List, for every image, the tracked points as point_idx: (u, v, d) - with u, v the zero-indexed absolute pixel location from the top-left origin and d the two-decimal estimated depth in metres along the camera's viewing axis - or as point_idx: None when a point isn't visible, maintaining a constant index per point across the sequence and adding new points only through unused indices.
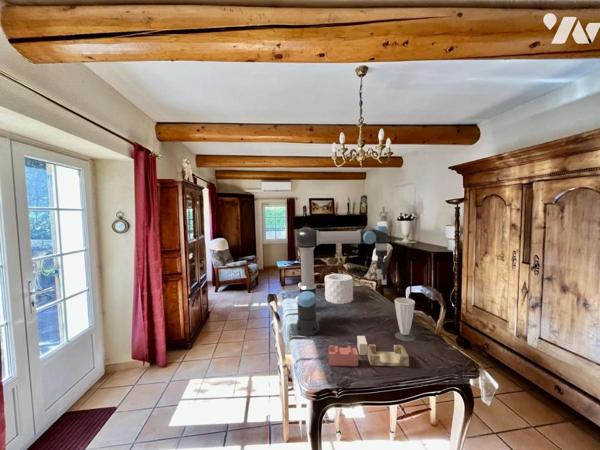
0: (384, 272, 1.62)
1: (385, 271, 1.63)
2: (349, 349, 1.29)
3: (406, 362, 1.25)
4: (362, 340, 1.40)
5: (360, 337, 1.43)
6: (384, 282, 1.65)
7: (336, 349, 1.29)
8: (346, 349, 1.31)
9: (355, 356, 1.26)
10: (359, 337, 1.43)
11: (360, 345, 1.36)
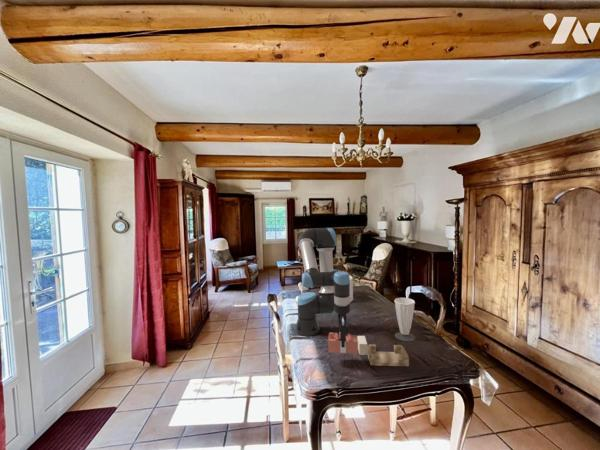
0: (342, 339, 1.23)
1: (343, 338, 1.23)
2: (349, 336, 1.29)
3: (406, 362, 1.25)
4: (362, 340, 1.40)
5: (360, 337, 1.43)
6: (343, 350, 1.27)
7: (336, 336, 1.29)
8: (346, 336, 1.31)
9: (355, 343, 1.26)
10: (359, 337, 1.43)
11: (360, 345, 1.36)
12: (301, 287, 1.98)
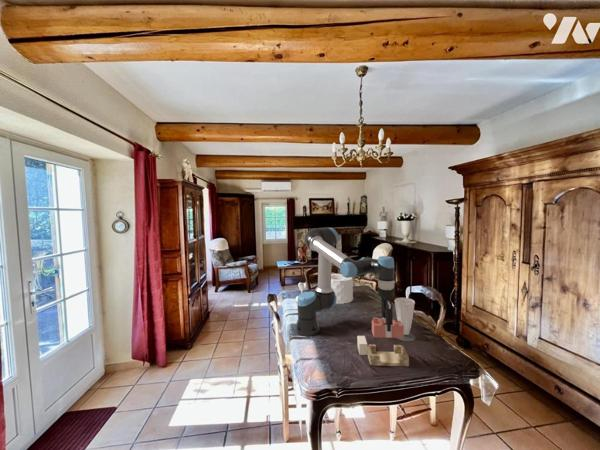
0: (389, 322, 1.23)
1: (390, 322, 1.23)
2: (394, 321, 1.29)
3: (406, 362, 1.25)
4: (362, 340, 1.40)
5: (360, 337, 1.43)
6: (389, 334, 1.26)
7: (380, 321, 1.29)
8: None
9: (401, 327, 1.26)
10: (359, 337, 1.43)
11: (360, 345, 1.36)
12: (301, 287, 1.98)
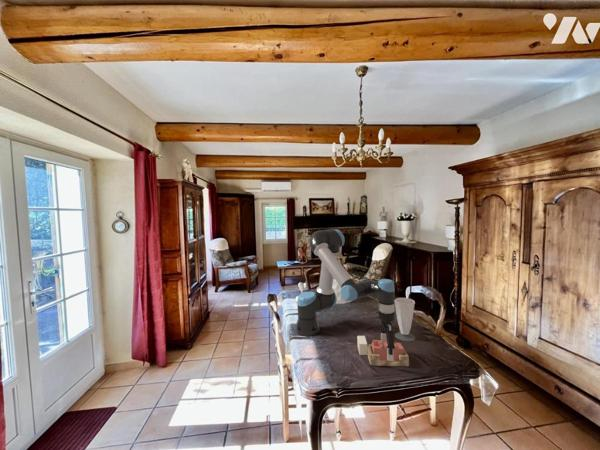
0: (391, 346, 1.21)
1: (392, 345, 1.21)
2: (394, 343, 1.30)
3: (406, 362, 1.25)
4: (362, 340, 1.40)
5: (360, 337, 1.43)
6: (391, 358, 1.23)
7: (380, 343, 1.30)
8: None
9: (401, 350, 1.27)
10: (359, 337, 1.43)
11: (360, 345, 1.36)
12: (301, 287, 1.98)
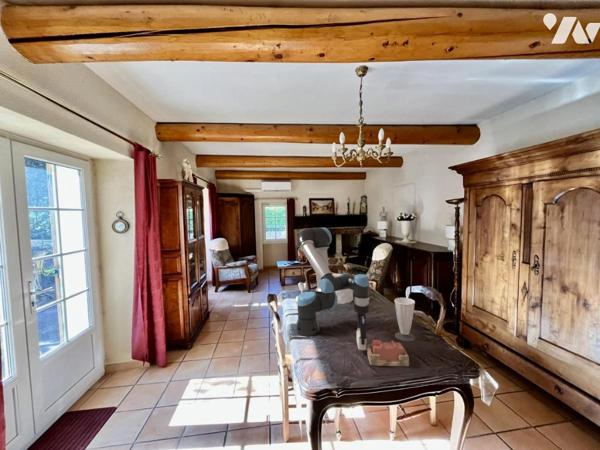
0: (362, 337, 1.32)
1: (364, 336, 1.32)
2: (394, 343, 1.30)
3: (406, 362, 1.25)
4: None
5: (359, 332, 1.43)
6: (363, 347, 1.36)
7: (380, 343, 1.30)
8: (390, 344, 1.32)
9: (401, 350, 1.27)
10: (358, 332, 1.43)
11: (359, 340, 1.36)
12: (301, 287, 1.98)
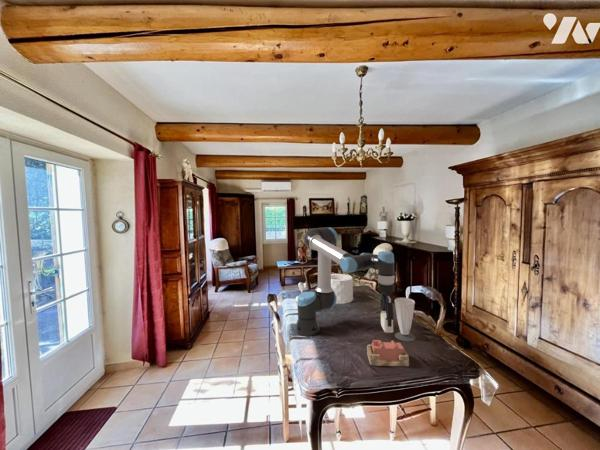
0: (389, 317, 1.22)
1: (391, 316, 1.22)
2: (394, 343, 1.30)
3: (406, 362, 1.25)
4: None
5: (384, 314, 1.32)
6: (389, 329, 1.25)
7: (380, 343, 1.30)
8: (390, 344, 1.32)
9: (401, 350, 1.27)
10: (383, 314, 1.32)
11: (385, 321, 1.25)
12: (301, 287, 1.98)
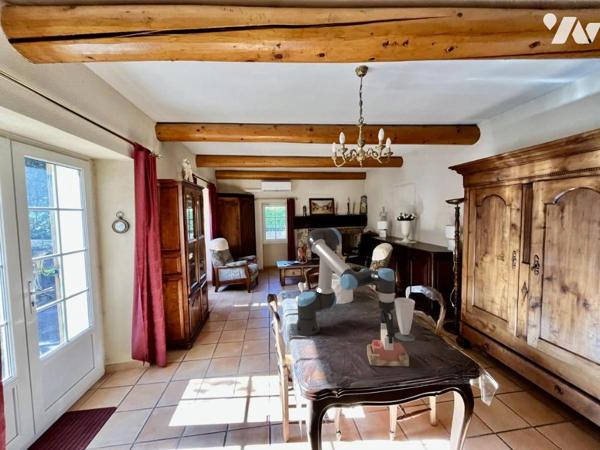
0: (390, 335, 1.20)
1: (392, 333, 1.20)
2: (394, 343, 1.30)
3: (406, 362, 1.25)
4: (386, 333, 1.30)
5: (384, 331, 1.33)
6: (390, 346, 1.23)
7: (380, 343, 1.30)
8: None
9: (401, 350, 1.27)
10: (383, 331, 1.33)
11: (385, 339, 1.26)
12: (301, 287, 1.98)
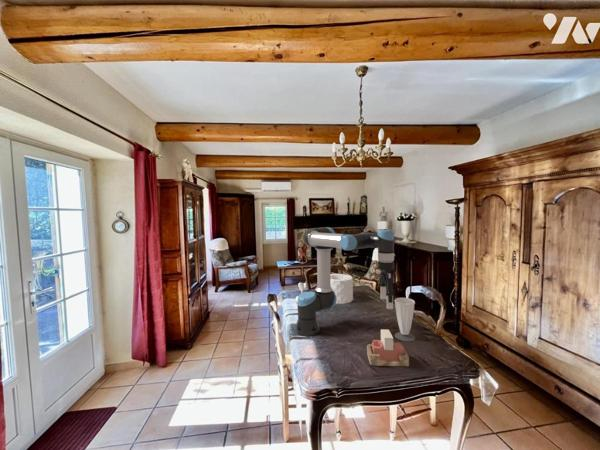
0: (390, 293, 1.19)
1: (391, 291, 1.19)
2: (394, 343, 1.30)
3: (406, 362, 1.25)
4: (386, 333, 1.30)
5: (384, 331, 1.33)
6: (390, 306, 1.22)
7: (380, 343, 1.30)
8: None
9: (401, 350, 1.27)
10: (383, 331, 1.33)
11: (385, 339, 1.26)
12: (301, 287, 1.98)
